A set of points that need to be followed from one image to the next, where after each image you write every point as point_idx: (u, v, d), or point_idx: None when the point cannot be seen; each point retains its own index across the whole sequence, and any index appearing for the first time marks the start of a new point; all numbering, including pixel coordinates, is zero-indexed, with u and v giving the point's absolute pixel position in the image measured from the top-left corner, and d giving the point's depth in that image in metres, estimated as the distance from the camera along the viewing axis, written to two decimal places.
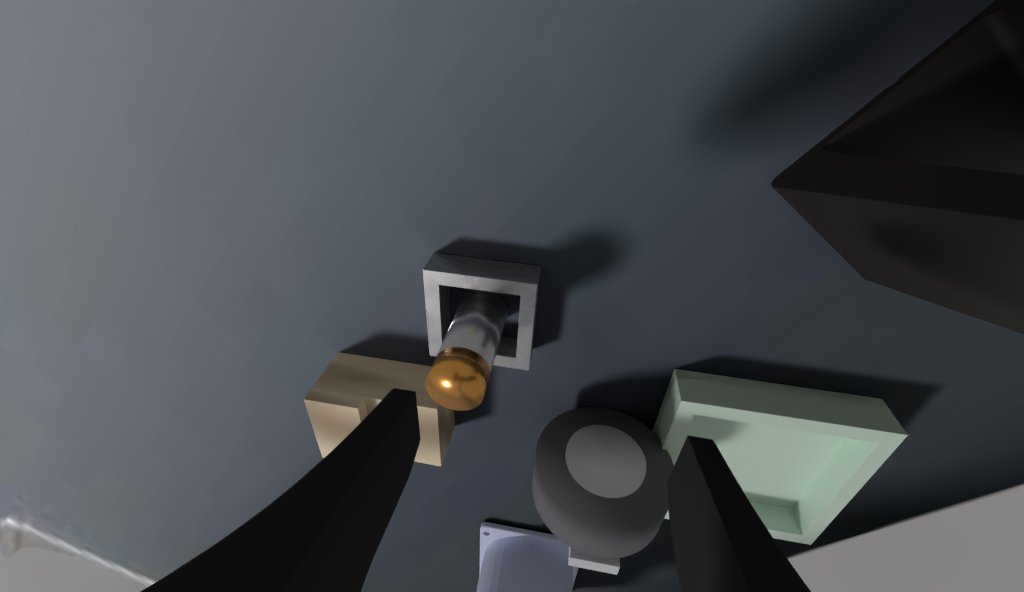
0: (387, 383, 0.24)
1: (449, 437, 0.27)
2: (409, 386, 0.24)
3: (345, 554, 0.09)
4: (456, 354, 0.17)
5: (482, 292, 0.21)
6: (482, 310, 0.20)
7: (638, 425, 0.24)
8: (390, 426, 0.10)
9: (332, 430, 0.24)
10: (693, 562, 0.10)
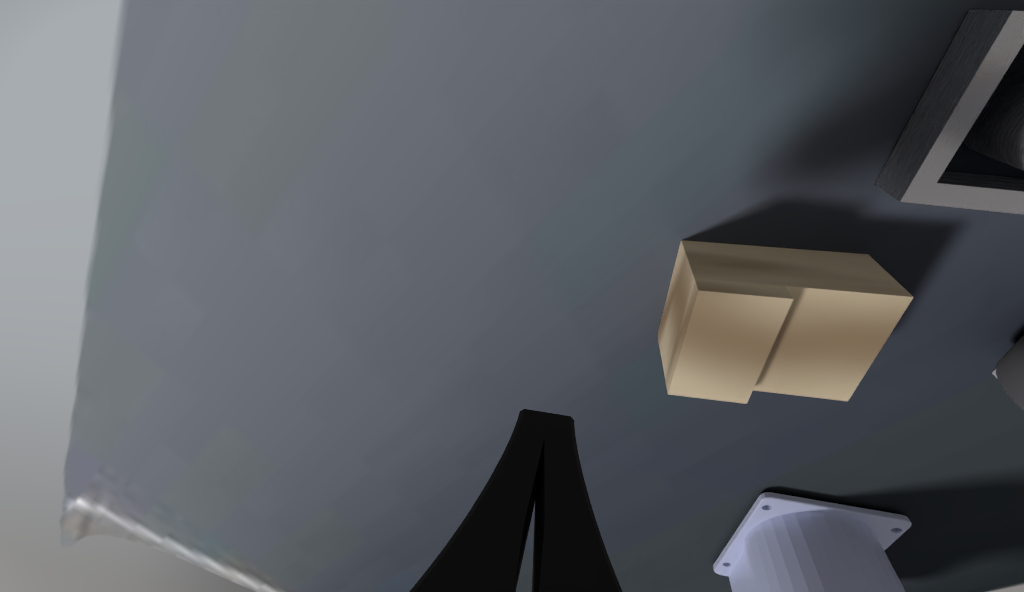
0: (797, 270, 0.16)
1: None
2: (832, 272, 0.16)
3: None
4: None
5: None
6: None
7: None
8: (540, 451, 0.10)
9: (716, 344, 0.16)
10: (536, 533, 0.10)
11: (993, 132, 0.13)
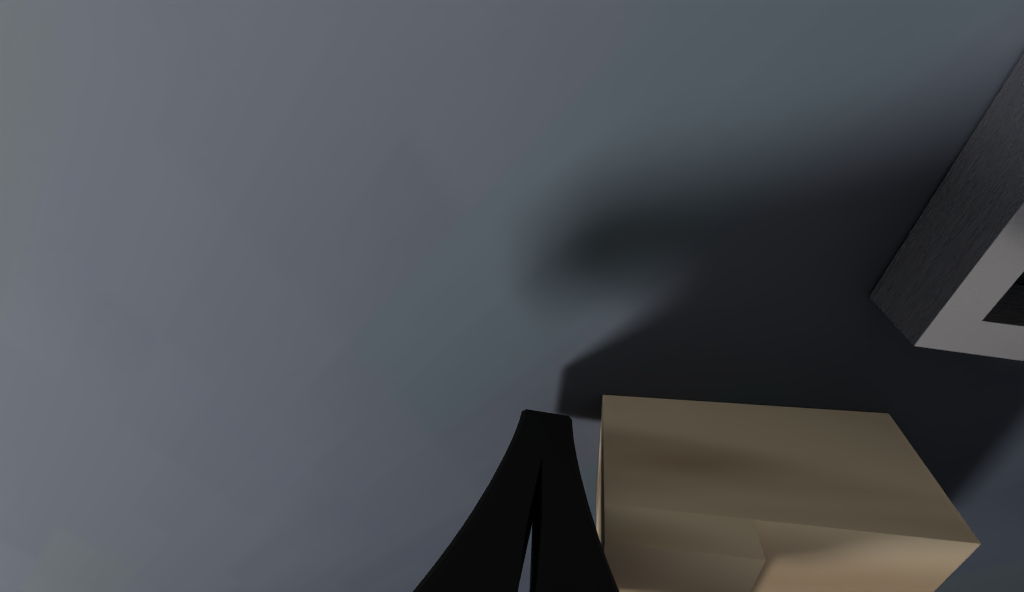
0: (777, 471, 0.10)
1: None
2: (835, 476, 0.10)
3: (517, 589, 0.09)
4: None
5: None
6: None
7: None
8: (542, 452, 0.10)
9: None
10: (534, 533, 0.10)
11: None
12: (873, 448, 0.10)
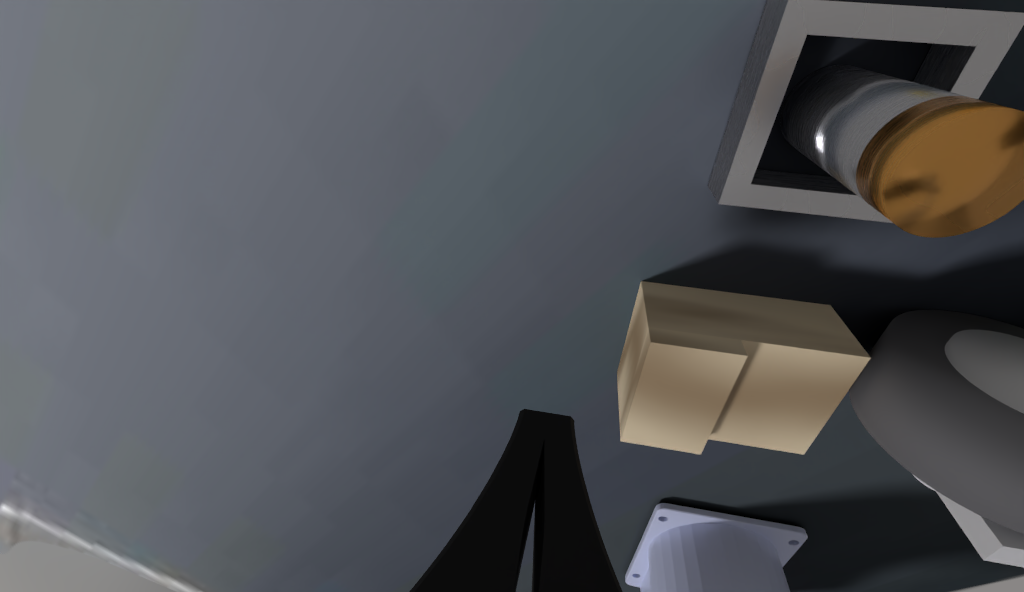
0: (755, 321, 0.15)
1: None
2: (791, 325, 0.15)
3: None
4: (970, 101, 0.08)
5: (857, 68, 0.12)
6: None
7: None
8: (540, 451, 0.10)
9: (670, 396, 0.15)
10: (536, 533, 0.10)
11: (798, 130, 0.12)
12: (816, 316, 0.16)
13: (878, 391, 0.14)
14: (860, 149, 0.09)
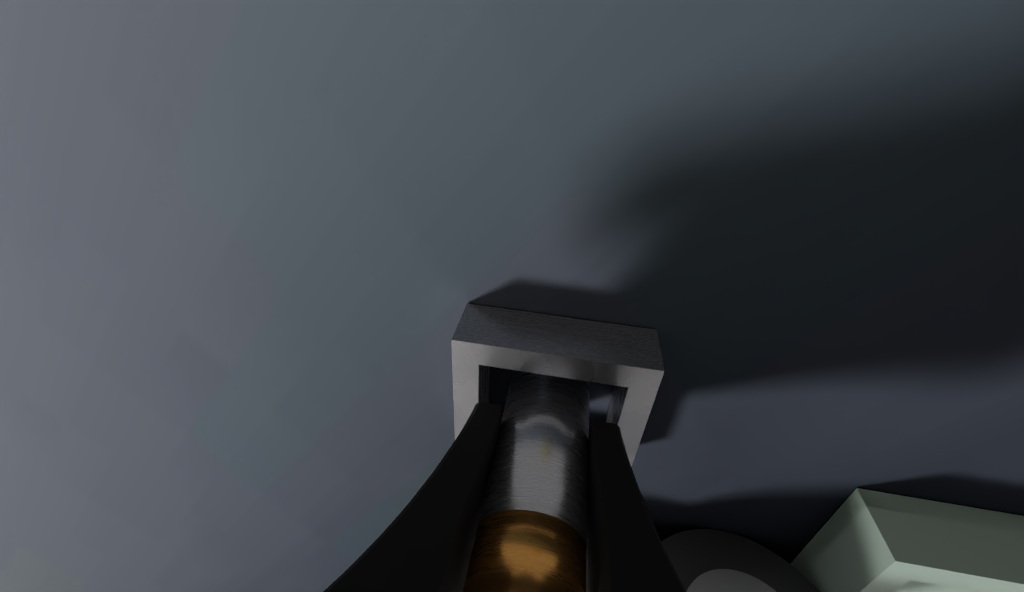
0: None
1: None
2: None
3: (456, 577, 0.09)
4: (527, 532, 0.08)
5: None
6: (558, 412, 0.11)
7: (781, 565, 0.15)
8: (489, 442, 0.10)
9: None
10: (587, 542, 0.10)
11: None
12: None
13: None
14: (478, 524, 0.10)
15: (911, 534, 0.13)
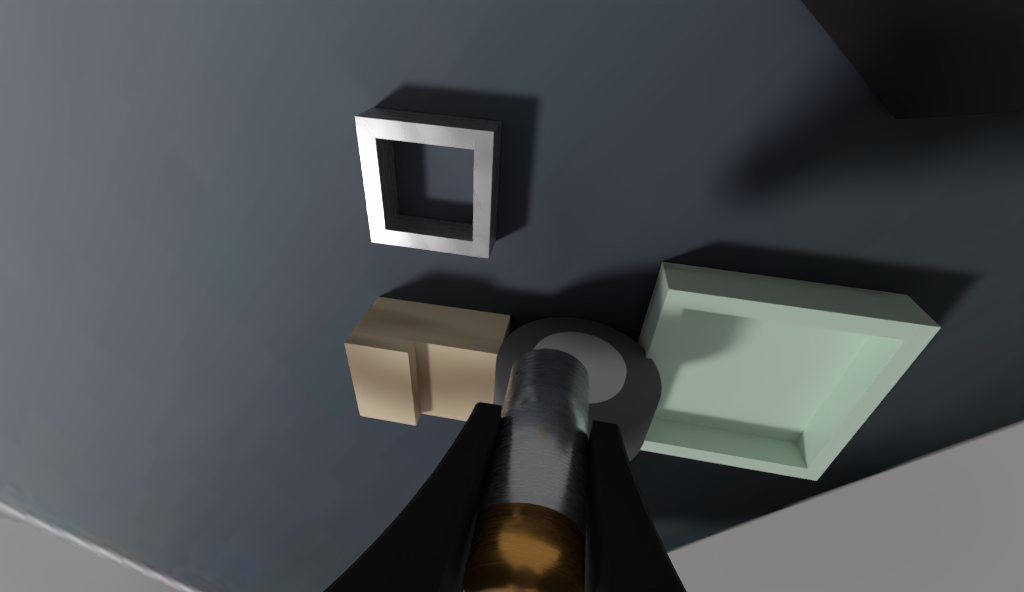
0: (438, 327, 0.21)
1: None
2: (463, 331, 0.21)
3: (456, 577, 0.09)
4: (524, 524, 0.09)
5: (548, 366, 0.12)
6: (555, 405, 0.11)
7: (619, 335, 0.21)
8: (488, 442, 0.10)
9: (375, 381, 0.21)
10: (587, 543, 0.10)
11: None
12: (490, 323, 0.22)
13: None
14: None
15: (688, 280, 0.18)
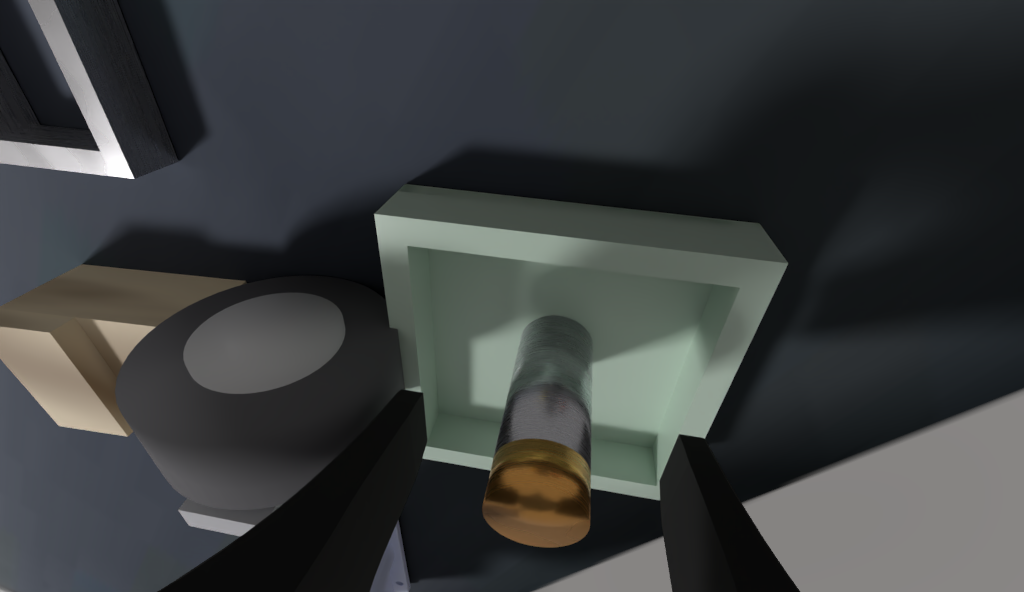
0: (129, 298, 0.15)
1: None
2: (160, 301, 0.15)
3: (354, 556, 0.09)
4: (533, 454, 0.10)
5: (553, 330, 0.13)
6: (560, 361, 0.12)
7: (372, 298, 0.14)
8: (399, 427, 0.10)
9: (42, 377, 0.15)
10: (683, 561, 0.10)
11: None
12: (208, 291, 0.16)
13: None
14: None
15: (420, 204, 0.12)
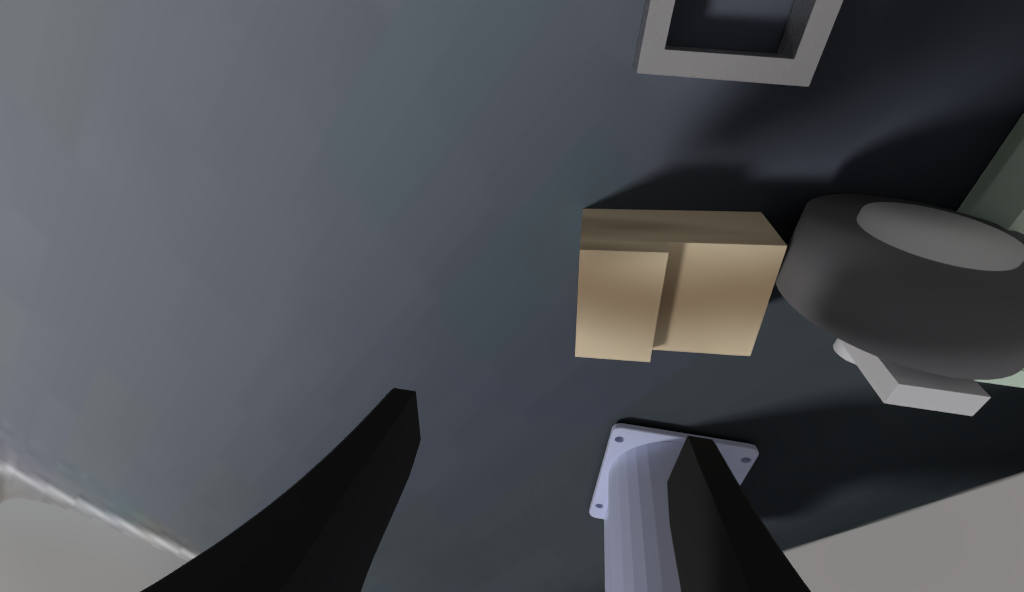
0: (684, 228, 0.16)
1: None
2: (717, 228, 0.16)
3: (345, 554, 0.09)
4: None
5: None
6: None
7: (943, 210, 0.15)
8: (390, 426, 0.10)
9: (608, 303, 0.16)
10: (693, 563, 0.10)
11: None
12: (744, 220, 0.17)
13: (794, 259, 0.15)
14: None
15: None
